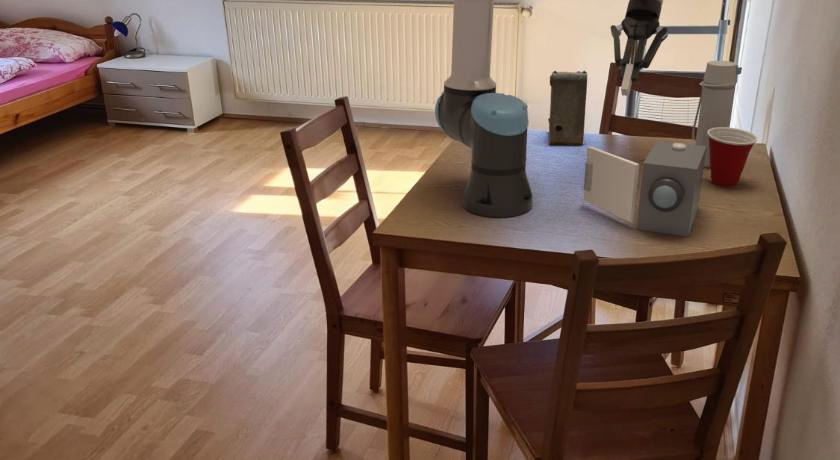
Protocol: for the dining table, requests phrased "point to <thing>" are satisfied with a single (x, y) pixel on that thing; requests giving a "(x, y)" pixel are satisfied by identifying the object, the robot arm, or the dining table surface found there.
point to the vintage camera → (567, 108)
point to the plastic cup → (728, 154)
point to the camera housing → (670, 188)
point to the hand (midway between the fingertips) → (624, 92)
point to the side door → (611, 183)
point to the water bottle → (714, 101)
